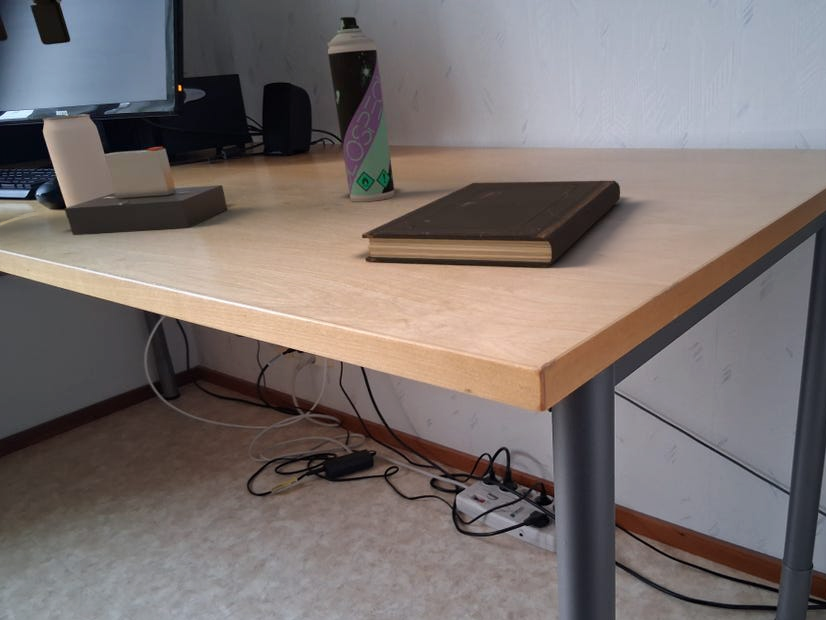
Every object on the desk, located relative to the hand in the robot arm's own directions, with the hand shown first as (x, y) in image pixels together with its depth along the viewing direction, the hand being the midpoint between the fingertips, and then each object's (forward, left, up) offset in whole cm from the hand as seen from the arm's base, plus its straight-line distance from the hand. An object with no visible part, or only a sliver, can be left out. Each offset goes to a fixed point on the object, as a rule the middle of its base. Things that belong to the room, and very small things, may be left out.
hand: (26, 42), depth 74 cm
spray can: (+33, +9, -20) cm, 39 cm away
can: (-9, +16, -20) cm, 27 cm away
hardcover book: (+51, -13, -20) cm, 56 cm away
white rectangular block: (+8, +2, -17) cm, 19 cm away
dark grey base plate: (+8, +2, -20) cm, 22 cm away
